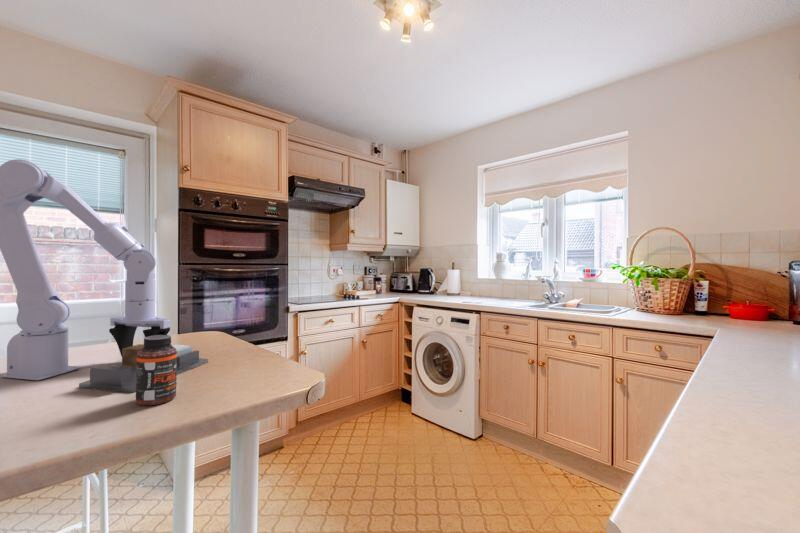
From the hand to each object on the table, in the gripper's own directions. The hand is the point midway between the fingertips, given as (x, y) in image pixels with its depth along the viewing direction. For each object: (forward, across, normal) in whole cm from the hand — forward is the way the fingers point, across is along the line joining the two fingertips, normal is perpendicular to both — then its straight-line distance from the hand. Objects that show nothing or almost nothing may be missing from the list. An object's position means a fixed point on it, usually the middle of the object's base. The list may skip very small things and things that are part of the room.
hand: (140, 356), depth 83 cm
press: (+1, -9, +6) cm, 11 cm away
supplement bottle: (+2, -22, +18) cm, 28 cm away
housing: (+2, 0, 0) cm, 2 cm away
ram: (0, -9, 0) cm, 9 cm away
